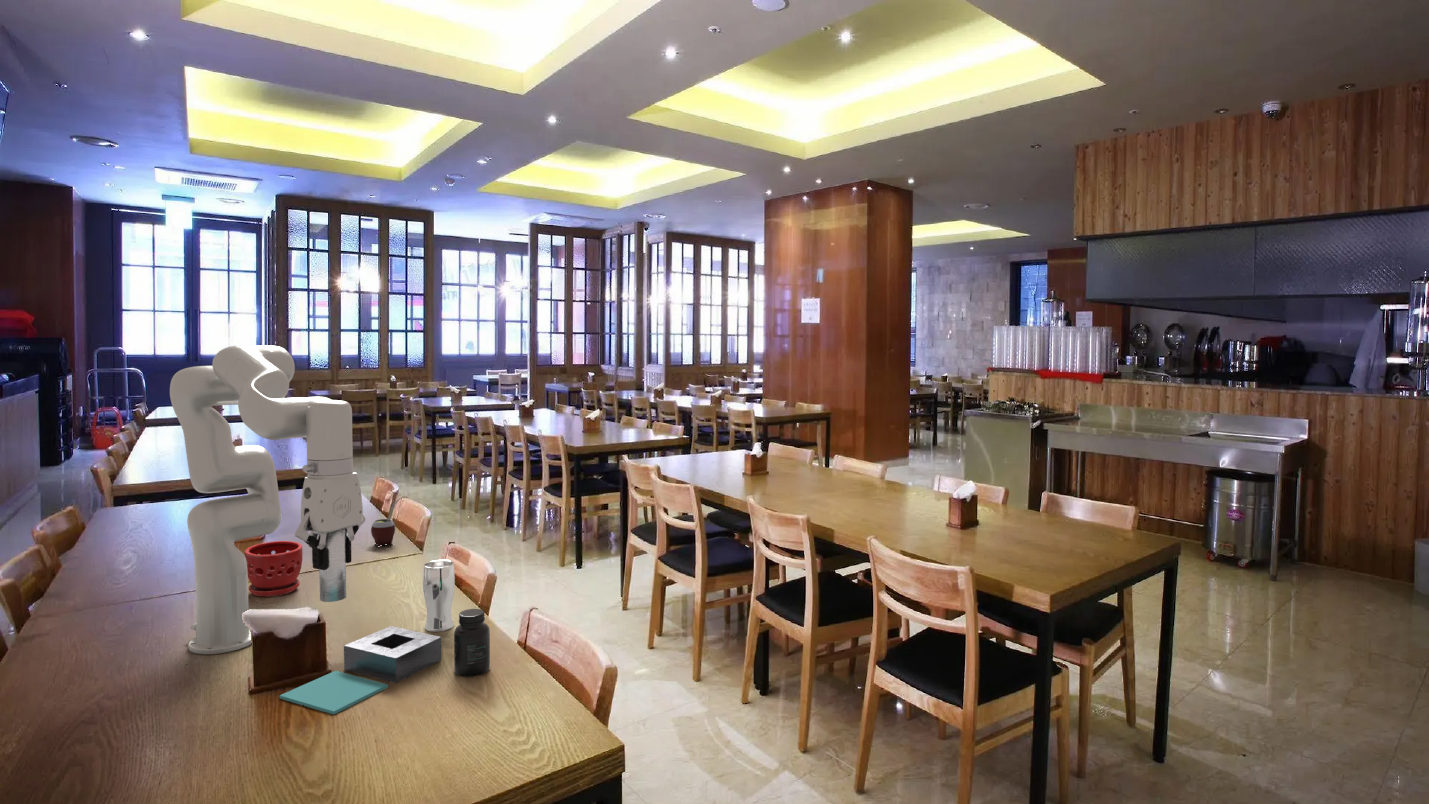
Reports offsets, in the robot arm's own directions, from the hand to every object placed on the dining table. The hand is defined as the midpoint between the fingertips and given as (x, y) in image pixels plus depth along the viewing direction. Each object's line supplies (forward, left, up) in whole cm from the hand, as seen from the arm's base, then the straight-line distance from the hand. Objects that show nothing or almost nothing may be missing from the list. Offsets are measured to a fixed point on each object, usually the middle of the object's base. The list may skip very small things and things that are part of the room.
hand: (332, 564), depth 142 cm
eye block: (0, +14, -25) cm, 28 cm away
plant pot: (-63, +34, -25) cm, 76 cm away
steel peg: (0, 0, -6) cm, 6 cm away
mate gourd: (-75, +81, -25) cm, 113 cm away
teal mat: (0, 0, -25) cm, 25 cm away
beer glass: (-7, +34, -25) cm, 43 cm away
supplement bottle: (+16, +19, -25) cm, 35 cm away
